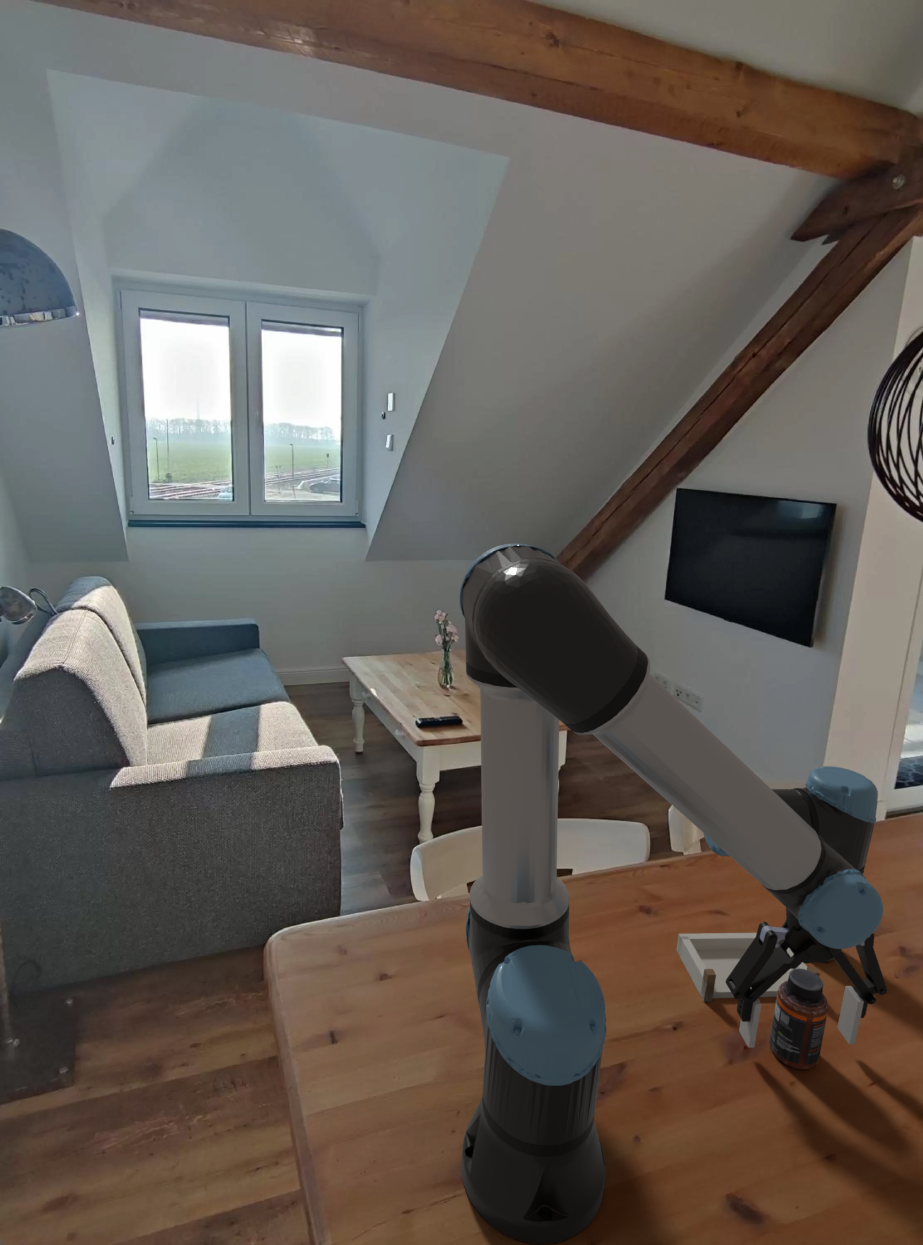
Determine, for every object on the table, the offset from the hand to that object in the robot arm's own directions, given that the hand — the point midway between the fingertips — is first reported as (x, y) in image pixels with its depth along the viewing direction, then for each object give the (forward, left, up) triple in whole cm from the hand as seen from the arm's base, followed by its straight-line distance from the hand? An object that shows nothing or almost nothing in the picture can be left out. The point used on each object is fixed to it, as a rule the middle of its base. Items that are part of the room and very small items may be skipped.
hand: (796, 1037), depth 95 cm
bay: (+10, +10, -2) cm, 14 cm away
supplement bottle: (0, 0, -3) cm, 3 cm away
